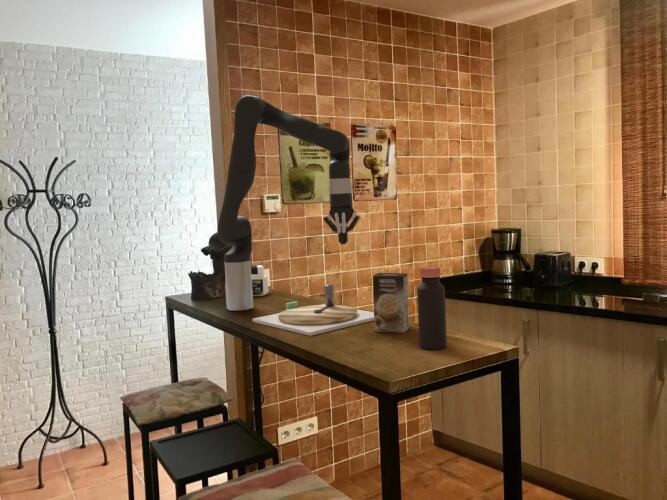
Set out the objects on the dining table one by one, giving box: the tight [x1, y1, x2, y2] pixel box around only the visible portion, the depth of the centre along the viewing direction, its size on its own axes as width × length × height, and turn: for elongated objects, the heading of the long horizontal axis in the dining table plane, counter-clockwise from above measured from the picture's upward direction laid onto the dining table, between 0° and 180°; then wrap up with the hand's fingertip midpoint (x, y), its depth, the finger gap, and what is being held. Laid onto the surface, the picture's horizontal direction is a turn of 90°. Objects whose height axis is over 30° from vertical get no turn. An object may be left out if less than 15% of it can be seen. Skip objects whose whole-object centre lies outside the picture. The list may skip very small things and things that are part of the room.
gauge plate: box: [252, 300, 374, 337], centre depth 186 cm, size 30×30×4 cm
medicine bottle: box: [251, 264, 269, 297], centre depth 240 cm, size 7×7×12 cm
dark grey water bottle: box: [416, 266, 448, 351], centre depth 146 cm, size 7×7×20 cm
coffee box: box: [372, 272, 410, 333], centre depth 167 cm, size 9×6×16 cm
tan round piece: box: [278, 283, 358, 324], centre depth 185 cm, size 25×25×8 cm
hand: (343, 244), depth 198 cm, fingers closed
